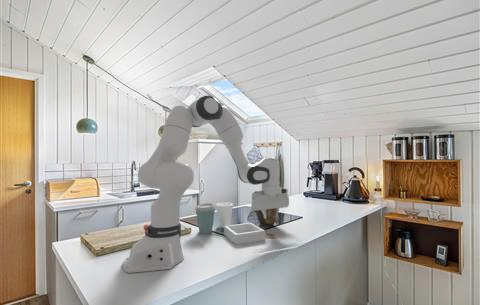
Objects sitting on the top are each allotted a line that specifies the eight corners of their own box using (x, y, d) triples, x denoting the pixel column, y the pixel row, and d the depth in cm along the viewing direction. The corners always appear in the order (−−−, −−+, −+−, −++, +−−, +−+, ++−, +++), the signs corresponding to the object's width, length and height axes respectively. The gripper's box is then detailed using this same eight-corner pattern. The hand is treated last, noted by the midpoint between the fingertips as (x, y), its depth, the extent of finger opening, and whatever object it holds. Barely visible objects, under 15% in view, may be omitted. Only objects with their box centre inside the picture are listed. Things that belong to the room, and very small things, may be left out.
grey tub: (235, 245, 117) (235, 234, 117) (224, 235, 131) (224, 226, 131) (264, 241, 123) (264, 230, 123) (250, 232, 137) (250, 222, 137)
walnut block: (269, 223, 127) (269, 209, 126) (265, 221, 130) (264, 207, 130) (275, 222, 128) (275, 208, 128) (271, 220, 132) (271, 206, 132)
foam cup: (233, 224, 151) (233, 202, 151) (231, 229, 141) (231, 206, 141) (217, 224, 152) (217, 202, 152) (214, 229, 142) (214, 205, 142)
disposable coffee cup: (203, 237, 128) (203, 207, 128) (191, 233, 136) (191, 204, 136) (219, 232, 136) (219, 204, 136) (206, 228, 143) (206, 201, 143)
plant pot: (266, 231, 138) (266, 201, 138) (248, 225, 150) (248, 198, 149) (285, 226, 148) (285, 198, 147) (266, 221, 159) (266, 195, 159)
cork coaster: (267, 240, 124) (267, 239, 124) (259, 235, 131) (259, 234, 131) (281, 238, 127) (281, 237, 127) (273, 233, 134) (273, 232, 134)
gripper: (254, 192, 122) (255, 221, 122) (290, 189, 130) (290, 216, 130) (249, 190, 128) (249, 218, 128) (283, 187, 136) (283, 214, 136)
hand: (270, 217), depth 129 cm, fingers closed on walnut block, 4 cm apart
